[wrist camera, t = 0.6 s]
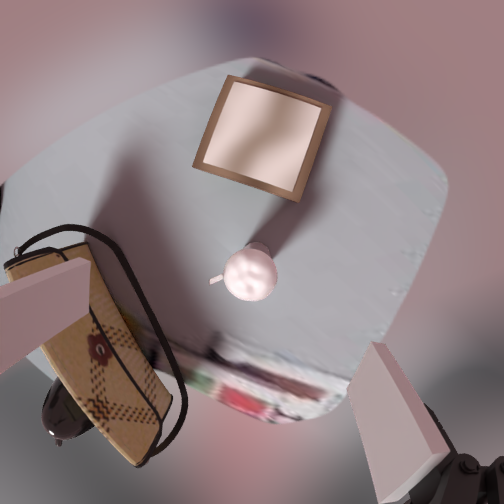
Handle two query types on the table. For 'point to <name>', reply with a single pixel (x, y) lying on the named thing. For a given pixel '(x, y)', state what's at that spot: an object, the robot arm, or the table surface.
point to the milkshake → (249, 273)
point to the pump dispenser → (63, 414)
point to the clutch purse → (106, 356)
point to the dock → (263, 137)
